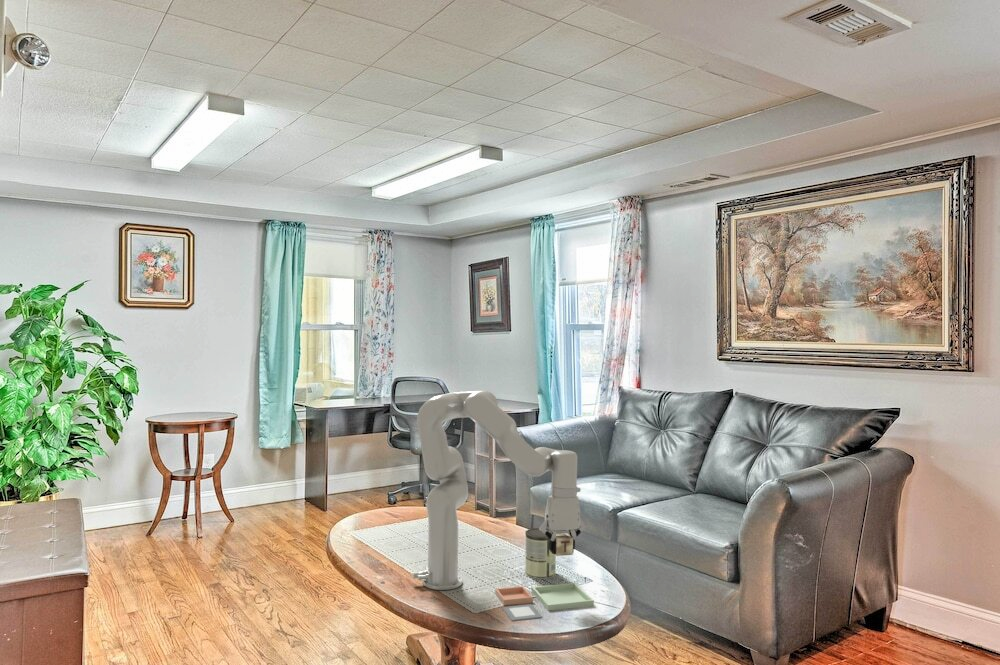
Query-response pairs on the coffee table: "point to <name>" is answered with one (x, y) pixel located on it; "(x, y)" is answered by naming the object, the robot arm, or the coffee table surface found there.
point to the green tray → (562, 596)
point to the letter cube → (564, 544)
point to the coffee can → (539, 555)
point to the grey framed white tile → (522, 612)
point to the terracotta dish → (513, 595)
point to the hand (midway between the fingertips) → (561, 551)
